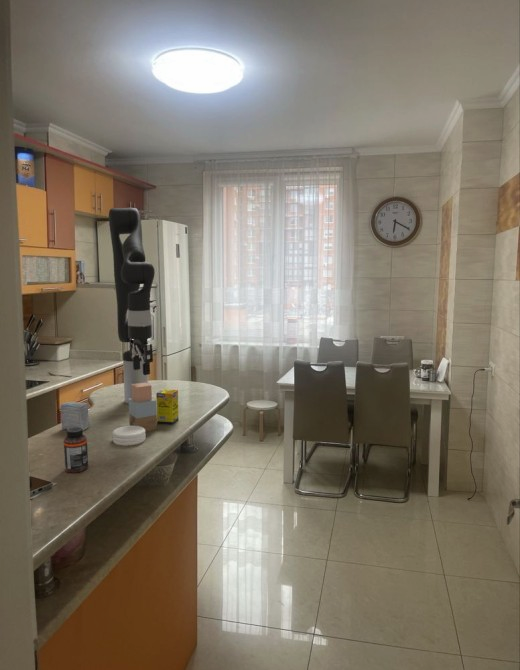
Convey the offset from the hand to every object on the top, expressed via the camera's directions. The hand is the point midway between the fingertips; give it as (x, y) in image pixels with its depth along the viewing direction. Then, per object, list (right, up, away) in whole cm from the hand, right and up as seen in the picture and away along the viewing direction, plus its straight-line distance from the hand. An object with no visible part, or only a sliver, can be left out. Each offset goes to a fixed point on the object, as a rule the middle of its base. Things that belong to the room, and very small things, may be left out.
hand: (141, 372), depth 175 cm
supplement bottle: (-11, -24, -32) cm, 41 cm away
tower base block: (0, -19, +3) cm, 19 cm away
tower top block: (0, -14, +2) cm, 14 cm away
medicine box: (-23, -19, +2) cm, 30 cm away
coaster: (-2, -21, -9) cm, 23 cm away
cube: (0, -9, +1) cm, 9 cm away
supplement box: (+7, -18, +10) cm, 22 cm away
